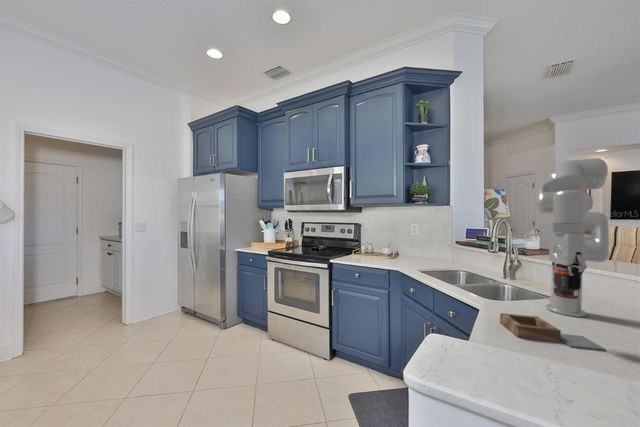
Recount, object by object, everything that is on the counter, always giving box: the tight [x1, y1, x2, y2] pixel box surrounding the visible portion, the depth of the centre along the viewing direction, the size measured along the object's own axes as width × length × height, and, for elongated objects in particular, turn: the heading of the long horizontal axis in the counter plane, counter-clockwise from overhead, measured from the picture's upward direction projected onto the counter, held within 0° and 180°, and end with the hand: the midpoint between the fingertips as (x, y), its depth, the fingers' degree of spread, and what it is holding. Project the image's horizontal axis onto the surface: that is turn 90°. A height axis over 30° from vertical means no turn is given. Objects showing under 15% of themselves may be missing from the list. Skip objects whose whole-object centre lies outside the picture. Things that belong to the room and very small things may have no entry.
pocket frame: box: [499, 312, 562, 343], centre depth 92 cm, size 12×12×4 cm
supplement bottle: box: [554, 264, 579, 299], centre depth 87 cm, size 6×6×11 cm
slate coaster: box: [560, 333, 607, 352], centre depth 85 cm, size 9×9×1 cm
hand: (566, 285), depth 87 cm, fingers closed on supplement bottle, 5 cm apart
